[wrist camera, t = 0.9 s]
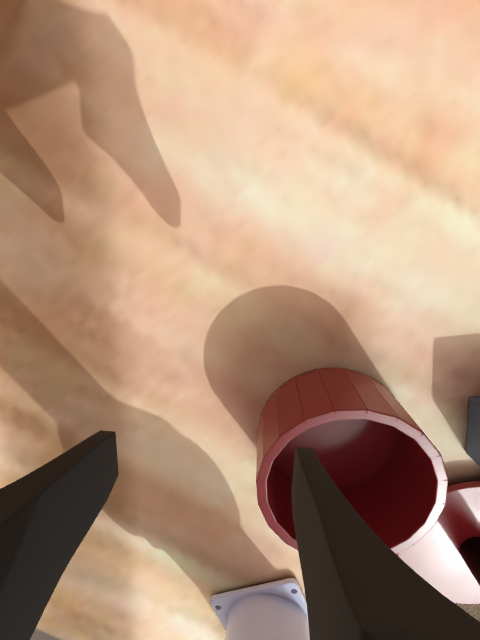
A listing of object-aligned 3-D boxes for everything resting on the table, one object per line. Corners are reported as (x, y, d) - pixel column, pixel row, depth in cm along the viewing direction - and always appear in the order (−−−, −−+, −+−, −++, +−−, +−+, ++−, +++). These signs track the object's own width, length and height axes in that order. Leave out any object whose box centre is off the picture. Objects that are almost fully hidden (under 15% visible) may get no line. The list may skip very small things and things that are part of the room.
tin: (420, 471, 23) (467, 540, 17) (287, 506, 24) (293, 579, 19) (380, 346, 20) (420, 383, 15) (237, 395, 22) (228, 443, 17)
